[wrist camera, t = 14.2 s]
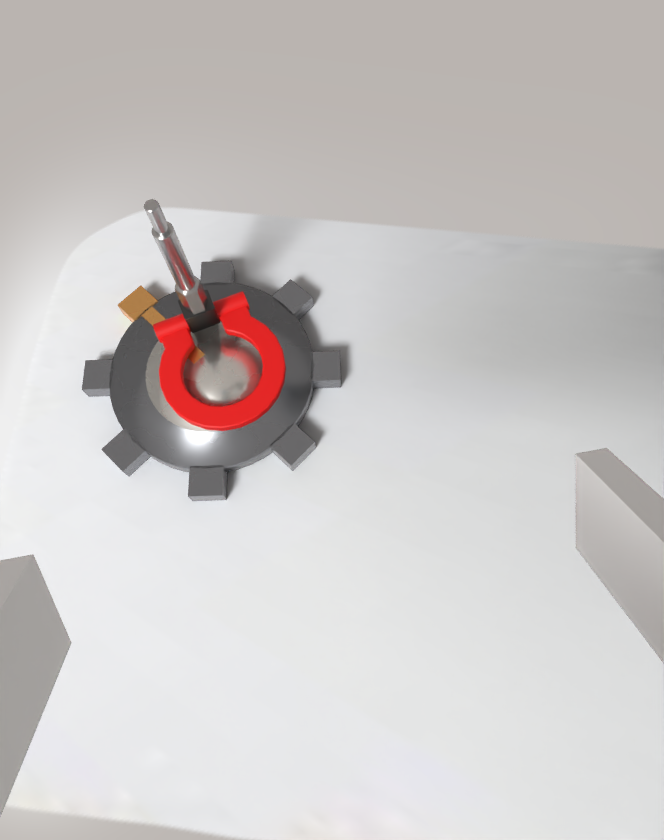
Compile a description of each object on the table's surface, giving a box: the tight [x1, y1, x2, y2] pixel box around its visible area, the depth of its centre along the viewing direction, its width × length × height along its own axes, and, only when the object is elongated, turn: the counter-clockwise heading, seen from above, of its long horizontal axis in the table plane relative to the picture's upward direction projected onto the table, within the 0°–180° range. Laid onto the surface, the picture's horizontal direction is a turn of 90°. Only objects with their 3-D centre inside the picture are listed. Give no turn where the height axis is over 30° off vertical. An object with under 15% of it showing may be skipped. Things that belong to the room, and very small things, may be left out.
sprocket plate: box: [82, 261, 341, 501], centre depth 43 cm, size 18×18×1 cm
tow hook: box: [144, 199, 286, 431], centre depth 37 cm, size 8×13×9 cm
